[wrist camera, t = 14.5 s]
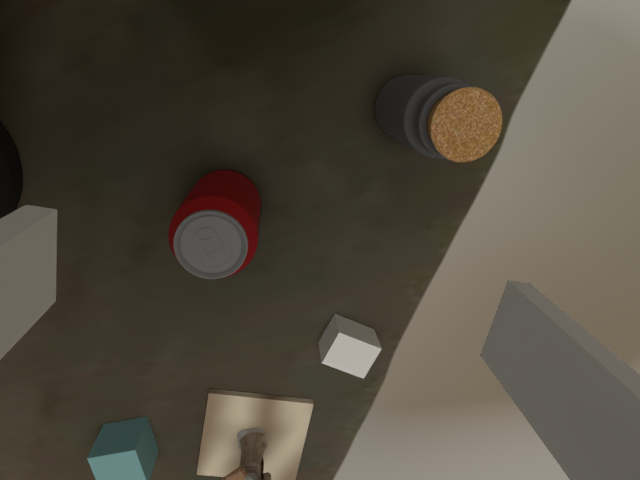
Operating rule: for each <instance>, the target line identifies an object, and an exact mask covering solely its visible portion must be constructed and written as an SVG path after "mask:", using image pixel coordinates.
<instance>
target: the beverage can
mask: <svg viewBox="0 0 640 480" xmlns="http://www.w3.org/2000/svg"><path fill="white" fill-rule="evenodd" d="M260 216H261V199H260V195H259V193H258V190H257V189H256V187H255V185H254V184H253V183H252V182H251V181H250V180H249V179H248V178H247V177H245V176H244V175H242V174H240V173H238V172H235V171H230V170H218V171H214V172H211V173H209V174H207V175H205V176H203V177H202V178H201V179H200V180H199V181H198V182H197V183H196V185H195V186H194V187H193V189H192V190H191V191H190V193H189V194H188V195H187V197H186V198H185V200H184V201H183V203H182V204H181V206H180V207H179V209H178V210H177V212H176V213H175V215H174V216H173V218H172V221H171V223H170V227H169V243H170V247H171V250H172V252H173V254H174V256H175V257H176V259H177V260H178V262H179V263H180V264H181V265H182V266H183V267H184V268H185V269H186V270H187V271H188V272H190V273H191V274H193V275H195V276H198V277H201V278H205V279H219V278H224V277H228V276H231V275H233V274H236V273H237V272H239V271H241V270H242V269H243V268H245V267H246V266H247V265H248V264H249V262H250V261H251V260H252V258H253V256H254V254H255V252H256V249H257V244H258V236H259V227H260Z"/></svg>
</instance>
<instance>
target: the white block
mask: <svg viewBox="0 0 640 480" xmlns="http://www.w3.org/2000/svg"><path fill="white" fill-rule="evenodd" d="M318 343H319V349H320V356H321V362H322V364H325V365H328V366H330V367H333V368H336V369H339V370H341V371H344V372H347V373H349V374H352V375H355V376H358V377H360V378H363V379H364V377H365V376H366V374H367V372H368V371H369V369H370V367H371V366H372V364H373V362H374V361H375V359H376V357H377V356H378V354H379V353H380V351H381V346H380V343H379V341H378V338H377V336H376V333H375V330H374V329H372V328H370V327H367V326H365V325H362V324H359V323H357V322H354V321H352V320H349V319H347V318H344V317H342V316H339V315H337V314H334V316H333V317H332V319H331V321H330V323H329V325H328V326H327V328H326V330H325V332H324V333H323V335H322V337H321V339H320V341H319V342H318Z"/></svg>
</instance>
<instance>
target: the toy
mask: <svg viewBox="0 0 640 480" xmlns="http://www.w3.org/2000/svg"><path fill="white" fill-rule="evenodd" d="M264 437H265V434H264V430H262V429H260V428H255V429H248V430H241V431H240V432H239V433H237V438H238V443H240V444H239V450H240V452H241V459H240V466H239V467H238V468H236V469H235V470H234V471H232V472H231V473H229V474H228V475H227V476H225V477H224V480H271V474H270V473H269V472H267V473H263V470H264V459H263V457H262V456H263V453H264V451H265V449H266V447H267V445H266V442H265V440H264ZM219 480H223V479H222V478H220V479H219Z"/></svg>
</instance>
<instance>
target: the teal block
mask: <svg viewBox="0 0 640 480" xmlns="http://www.w3.org/2000/svg"><path fill="white" fill-rule="evenodd" d="M158 451H159V449H158V446H157V443H156V441H155V438H154V435H153V432H152V429H151V426H150V423H149V420H148V417H143V418H137V419H131V420H125V421H120V422H114V423H108V424H103V426H102V428H101V431H100V433H99V435H98V437H97V439H96V441H95V443H94V445H93V447H92V449H91V451H90V454H89V456H88V458H87V459H88V462H89V464H90V467H91V469H92V471H93V474H94V476H95V479H96V480H150V477H151V474H152V470H153V467H154V464H155V461H156V457H157V454H158Z"/></svg>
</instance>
